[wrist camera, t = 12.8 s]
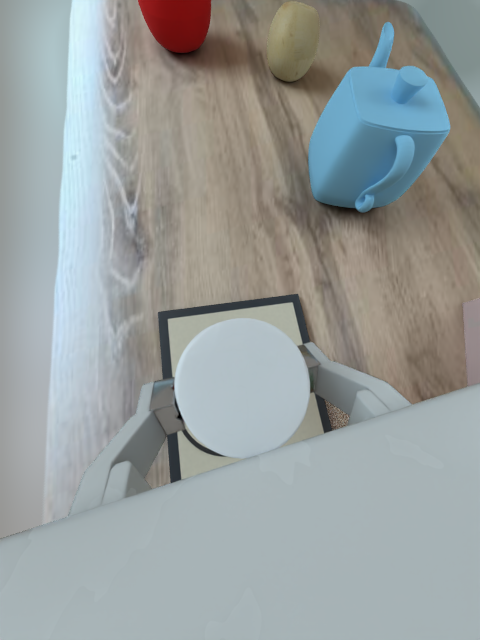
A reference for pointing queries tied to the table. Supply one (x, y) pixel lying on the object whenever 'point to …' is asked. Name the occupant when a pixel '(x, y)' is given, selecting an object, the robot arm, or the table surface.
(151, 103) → the table surface
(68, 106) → the table surface
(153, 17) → the tomato
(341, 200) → the teapot
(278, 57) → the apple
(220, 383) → the pill bottle
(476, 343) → the greeting card
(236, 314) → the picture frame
